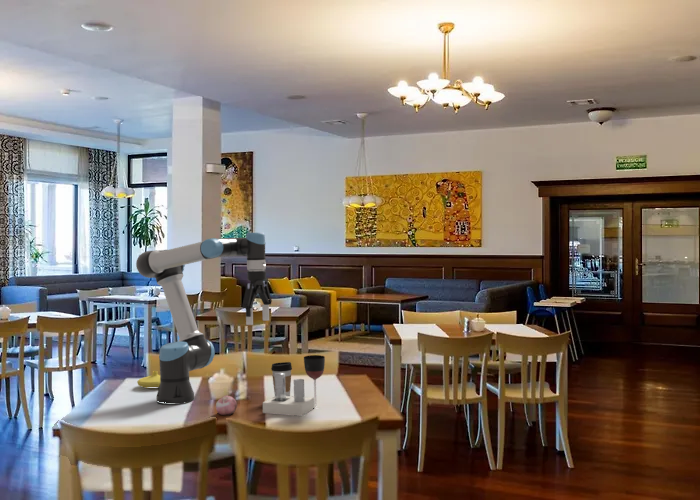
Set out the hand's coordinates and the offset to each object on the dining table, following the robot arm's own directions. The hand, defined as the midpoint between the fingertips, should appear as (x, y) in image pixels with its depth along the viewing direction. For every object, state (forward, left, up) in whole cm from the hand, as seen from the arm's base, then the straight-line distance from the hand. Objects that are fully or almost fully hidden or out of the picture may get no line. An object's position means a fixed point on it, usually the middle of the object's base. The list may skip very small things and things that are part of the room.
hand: (258, 322), depth 286 cm
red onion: (-2, -23, -32) cm, 39 cm away
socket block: (+19, -12, -32) cm, 39 cm away
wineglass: (+27, -4, -32) cm, 42 cm away
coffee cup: (+9, +3, -32) cm, 33 cm away
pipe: (+16, -12, -32) cm, 37 cm away
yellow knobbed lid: (-59, +10, -32) cm, 68 cm away
